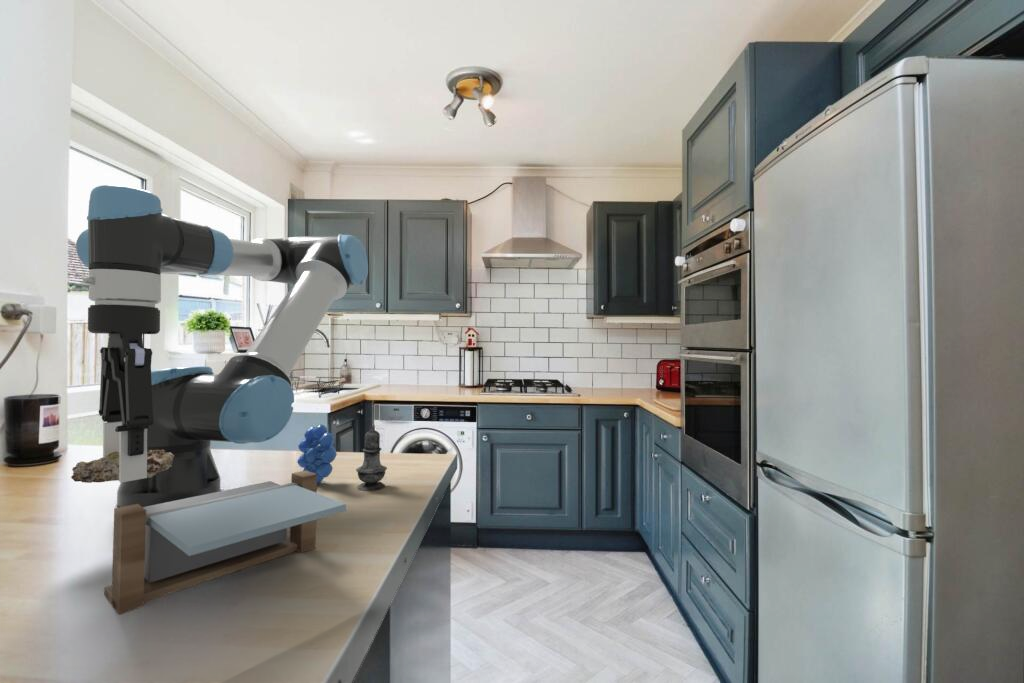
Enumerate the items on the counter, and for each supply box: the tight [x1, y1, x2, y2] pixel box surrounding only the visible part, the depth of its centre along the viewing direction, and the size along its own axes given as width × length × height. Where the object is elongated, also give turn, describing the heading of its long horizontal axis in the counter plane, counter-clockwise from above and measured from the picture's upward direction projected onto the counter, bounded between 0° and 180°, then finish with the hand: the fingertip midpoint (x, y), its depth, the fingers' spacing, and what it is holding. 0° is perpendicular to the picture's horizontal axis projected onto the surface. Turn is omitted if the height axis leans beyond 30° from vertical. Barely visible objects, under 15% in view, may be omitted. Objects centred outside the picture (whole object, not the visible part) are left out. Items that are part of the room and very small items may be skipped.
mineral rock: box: [70, 449, 174, 484], centre depth 64 cm, size 11×4×8 cm
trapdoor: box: [143, 480, 347, 583], centre depth 55 cm, size 18×16×8 cm
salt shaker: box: [355, 425, 388, 492], centre depth 93 cm, size 6×6×12 cm
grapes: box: [296, 424, 338, 485], centre depth 95 cm, size 12×7×12 cm, turn 53°
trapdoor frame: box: [103, 470, 318, 615], centre depth 58 cm, size 6×21×10 cm, turn 142°
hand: (124, 473), depth 64 cm, fingers closed on mineral rock, 8 cm apart
